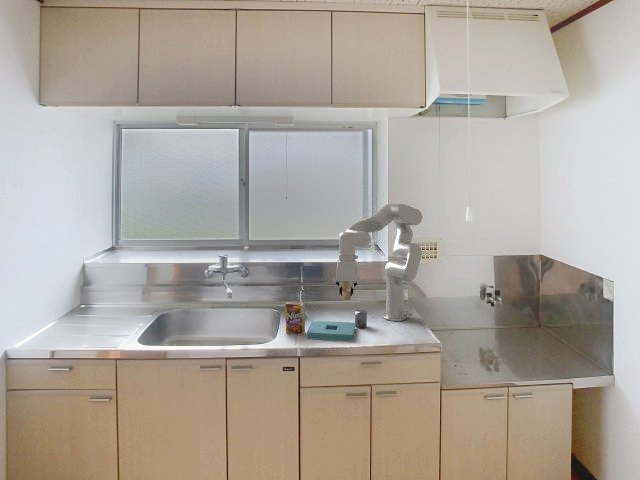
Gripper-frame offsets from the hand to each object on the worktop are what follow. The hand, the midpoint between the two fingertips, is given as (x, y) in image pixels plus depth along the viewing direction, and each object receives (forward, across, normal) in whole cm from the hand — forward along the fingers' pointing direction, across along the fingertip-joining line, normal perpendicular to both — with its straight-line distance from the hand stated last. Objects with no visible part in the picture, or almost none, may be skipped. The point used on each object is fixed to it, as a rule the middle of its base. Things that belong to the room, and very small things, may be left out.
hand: (346, 295), depth 183 cm
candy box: (+20, +25, +1) cm, 32 cm away
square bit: (+2, 0, 0) cm, 2 cm away
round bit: (+20, -7, -11) cm, 24 cm away
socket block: (+20, +7, -1) cm, 21 cm away
